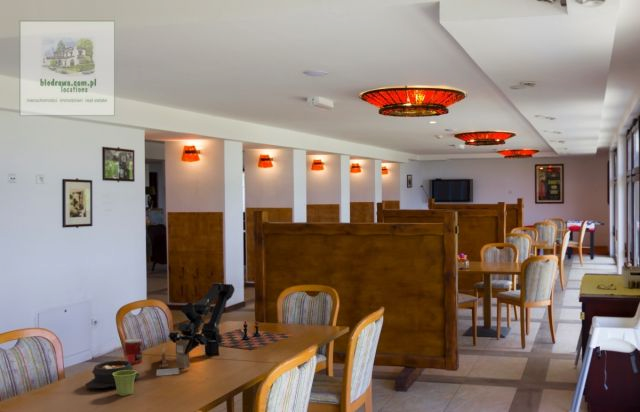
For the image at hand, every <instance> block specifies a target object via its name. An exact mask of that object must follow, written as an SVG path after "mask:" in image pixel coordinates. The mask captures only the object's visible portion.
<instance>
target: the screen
mask: <svg viewBox="0 0 640 412" xmlns="http://www.w3.org/2000/svg"><path fill="white" fill-rule="evenodd" d="M166 356H167V355H166V347H162V348H161V358H159V362H162V363H161V364H159V368H168V367H169V364H167V362H166V361H168V362H169V358H167V357H166Z"/></svg>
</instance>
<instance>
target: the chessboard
mask: <svg viewBox="0 0 640 412" xmlns="http://www.w3.org/2000/svg"><path fill="white" fill-rule="evenodd" d="M259 324H260V321H257V320H256V321H254V328H255V331H256V332H254V333H251V332H248V333H247V330H249V329H248V323H247V321H244V322H243V328H238V329H239V330H238V329H235V330H231V331H228V332H224V333H221V334H220V333H219V334H220V335H221V337H222V342H221V343H219V347H224V348H231V349H240V350H247V349H248V351H254V350H257V349H259V348H262V347H265V346H268V345H271V344H275V343H276V342H279V341H283V340H285V339H288V338H290V337H293V336H295V334H291V333H290V334H289V333H282V334H271V333H268V332H269V331H264V330H263V331H262V330H259V328H260V326H259ZM241 329H243V330H244V332H242V331H241ZM258 331H259V332H258ZM260 331H261V332H260ZM266 332H267V333H266ZM199 345H201V344H200V342H199Z"/></svg>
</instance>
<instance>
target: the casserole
mask: <svg viewBox="0 0 640 412" xmlns="http://www.w3.org/2000/svg"><path fill="white" fill-rule="evenodd" d="M133 369H134V367H133V365H132V364H131V363H130V362H127V361H126V360H110V361H105V362H101V363H97V364H96V365H94V367H93V370H92V371H91V373H92V374H93V376H94V378H93V379H91V380H90V381H88V382H87V383H85V384H84V385H85V387H87V388H91V389H92V388H93V389H104V388H105V389H106V388H116V383H115V379H114V376H113V373H114V372H117V371H123V370H133ZM139 376H140V373H138V372H137V373H136V374H135V379H136V378H138V377H139Z"/></svg>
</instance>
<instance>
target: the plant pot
mask: <svg viewBox="0 0 640 412" xmlns="http://www.w3.org/2000/svg"><path fill="white" fill-rule="evenodd" d="M136 373H138V372H137V370H133V369H132V370H123V371H117V372H114V373H113V376H114V379H115V383H116V387H115V388H116V393H117V395H118V396H120V397H121V396H124V397H125V396H128V395H132V394H134V386H135V379H136V378H135V374H136Z"/></svg>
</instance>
